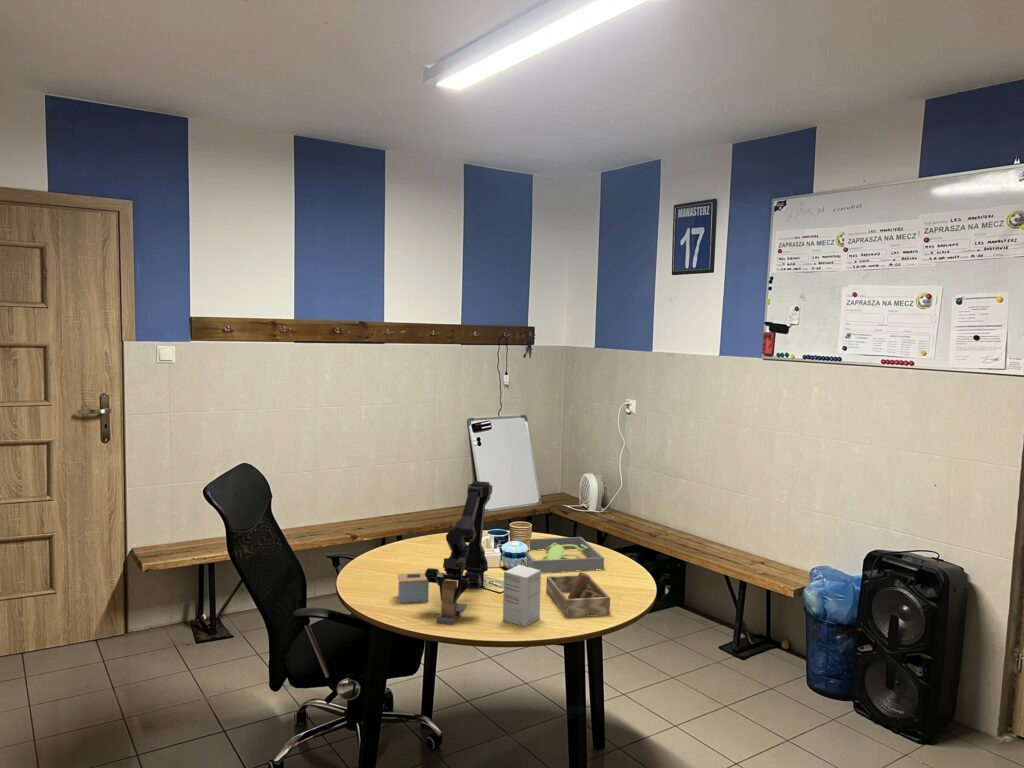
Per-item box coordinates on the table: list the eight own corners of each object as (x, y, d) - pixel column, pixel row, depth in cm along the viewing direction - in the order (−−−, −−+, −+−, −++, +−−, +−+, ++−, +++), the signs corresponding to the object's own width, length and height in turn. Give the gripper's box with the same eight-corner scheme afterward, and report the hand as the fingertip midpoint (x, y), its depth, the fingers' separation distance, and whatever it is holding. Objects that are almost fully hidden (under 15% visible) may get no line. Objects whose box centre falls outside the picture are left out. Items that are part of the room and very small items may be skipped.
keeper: (443, 613, 254) (443, 607, 254) (460, 615, 253) (460, 609, 253) (436, 622, 246) (436, 616, 246) (453, 624, 245) (453, 618, 245)
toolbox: (426, 594, 272) (427, 570, 271) (429, 601, 264) (429, 577, 263) (397, 595, 269) (397, 571, 269) (399, 603, 262) (399, 578, 261)
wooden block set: (598, 619, 259) (611, 593, 258) (577, 611, 257) (589, 584, 256) (582, 598, 276) (594, 573, 276) (562, 590, 274) (574, 565, 274)
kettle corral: (580, 547, 333) (581, 536, 332) (603, 569, 304) (604, 557, 303) (515, 550, 326) (515, 539, 326) (532, 573, 297) (532, 561, 297)
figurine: (590, 555, 324) (591, 542, 324) (571, 573, 299) (572, 560, 299) (550, 549, 331) (550, 537, 331) (528, 566, 306) (529, 553, 306)
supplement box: (517, 611, 258) (519, 564, 256) (540, 618, 252) (542, 569, 251) (501, 620, 250) (503, 571, 248) (524, 627, 244) (526, 577, 243)
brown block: (444, 616, 252) (445, 580, 251) (456, 617, 251) (456, 581, 250) (441, 620, 248) (441, 584, 247) (452, 622, 247) (453, 585, 246)
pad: (450, 604, 263) (450, 602, 263) (467, 605, 261) (467, 604, 261) (445, 610, 257) (445, 608, 257) (462, 612, 256) (462, 610, 256)
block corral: (587, 590, 280) (587, 574, 280) (609, 614, 257) (610, 597, 256) (546, 592, 277) (546, 576, 276) (564, 617, 253) (565, 600, 253)
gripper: (427, 544, 253) (415, 587, 244) (480, 549, 249) (470, 593, 240) (434, 560, 262) (423, 602, 252) (485, 565, 258) (476, 608, 248)
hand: (447, 601), depth 248 cm, fingers closed on brown block, 4 cm apart
